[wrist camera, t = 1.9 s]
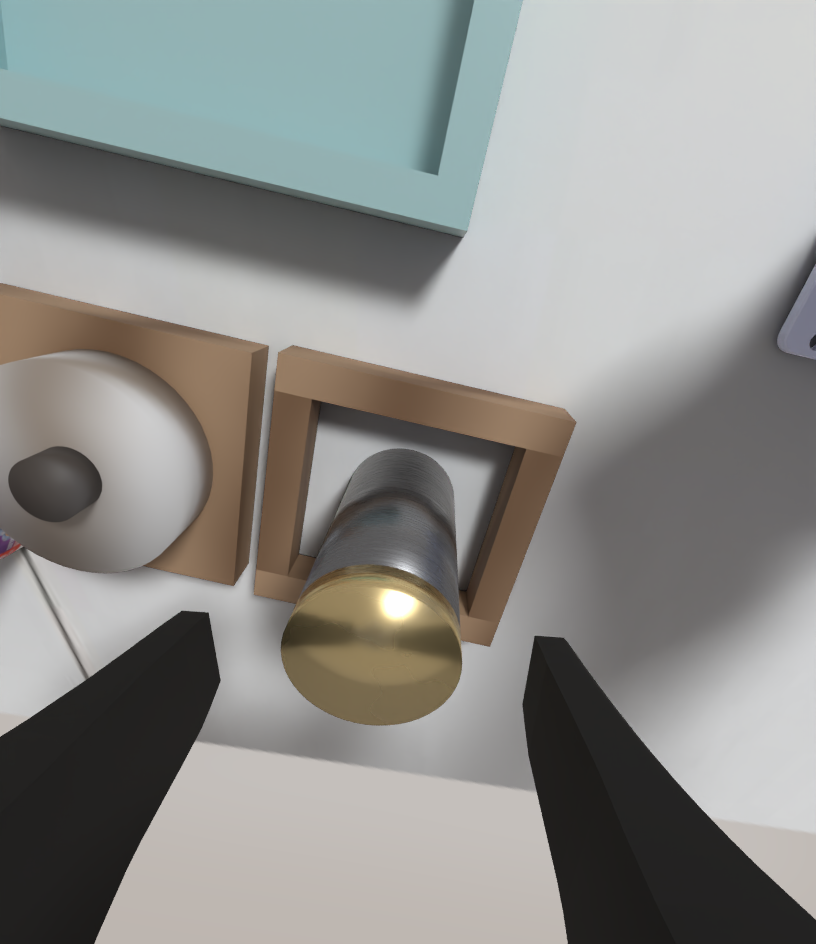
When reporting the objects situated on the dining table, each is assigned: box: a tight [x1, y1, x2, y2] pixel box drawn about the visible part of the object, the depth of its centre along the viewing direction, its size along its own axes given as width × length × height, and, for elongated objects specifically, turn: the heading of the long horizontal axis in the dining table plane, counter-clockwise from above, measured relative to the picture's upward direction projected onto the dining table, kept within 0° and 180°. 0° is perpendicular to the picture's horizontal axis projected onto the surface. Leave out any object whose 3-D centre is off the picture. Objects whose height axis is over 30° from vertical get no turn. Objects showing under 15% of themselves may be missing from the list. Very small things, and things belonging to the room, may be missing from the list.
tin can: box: [281, 449, 462, 725], centre depth 14 cm, size 4×4×8 cm
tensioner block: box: [0, 283, 576, 647], centre depth 15 cm, size 19×9×4 cm, turn 78°
